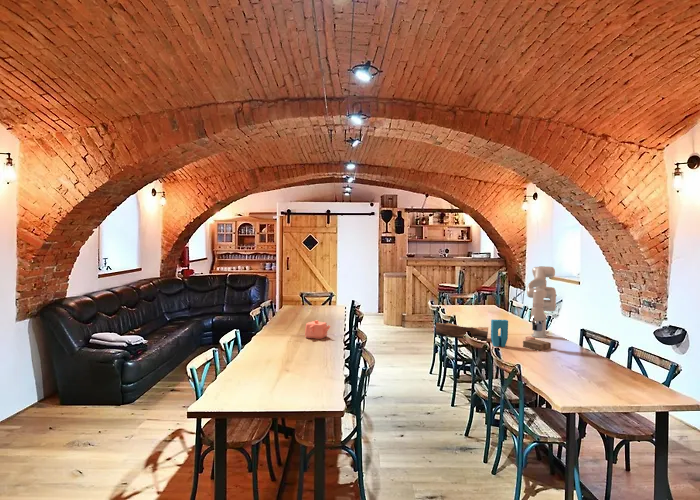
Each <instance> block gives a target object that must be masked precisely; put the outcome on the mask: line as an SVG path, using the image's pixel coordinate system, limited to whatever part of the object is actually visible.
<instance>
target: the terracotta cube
mask: <svg viewBox="0 0 700 500" xmlns="http://www.w3.org/2000/svg"><path fill="white" fill-rule="evenodd" d="M533 339H536V337H533V336H532V335H531V336H530V335H529V336H525V340H524V341H527V340H533Z"/></svg>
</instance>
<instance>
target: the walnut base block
mask: <svg viewBox="0 0 700 500" xmlns="http://www.w3.org/2000/svg"><path fill="white" fill-rule="evenodd" d="M551 346H552V343H551V342H549V341H546V340H540V339H536V338H535V339H533V340H527V341H525V340H523V342H522V347H523V348H525V349H528V350H534V351H537V352H541V351H546V350H552V349H551V348H552V347H551Z"/></svg>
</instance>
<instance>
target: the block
mask: <svg viewBox="0 0 700 500" xmlns="http://www.w3.org/2000/svg"><path fill="white" fill-rule="evenodd" d="M490 322H491V323H490V339H491V344H492V346H493V347H495V348H496V347H498V348H499V347H501V348H505V347H506V346H507V342H508V339H509V338H508V337H509V336H508V335H509V320H508V319H491V320H490ZM499 329H500V334H499Z"/></svg>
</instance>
